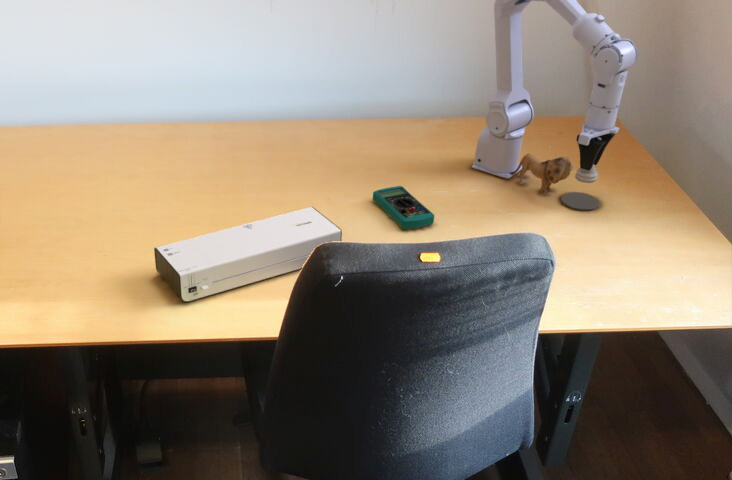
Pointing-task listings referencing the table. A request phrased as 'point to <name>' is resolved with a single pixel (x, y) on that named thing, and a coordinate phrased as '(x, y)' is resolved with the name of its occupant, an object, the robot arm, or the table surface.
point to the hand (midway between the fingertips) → (588, 166)
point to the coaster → (580, 201)
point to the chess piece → (587, 174)
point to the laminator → (243, 253)
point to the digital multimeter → (403, 207)
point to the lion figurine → (545, 170)
